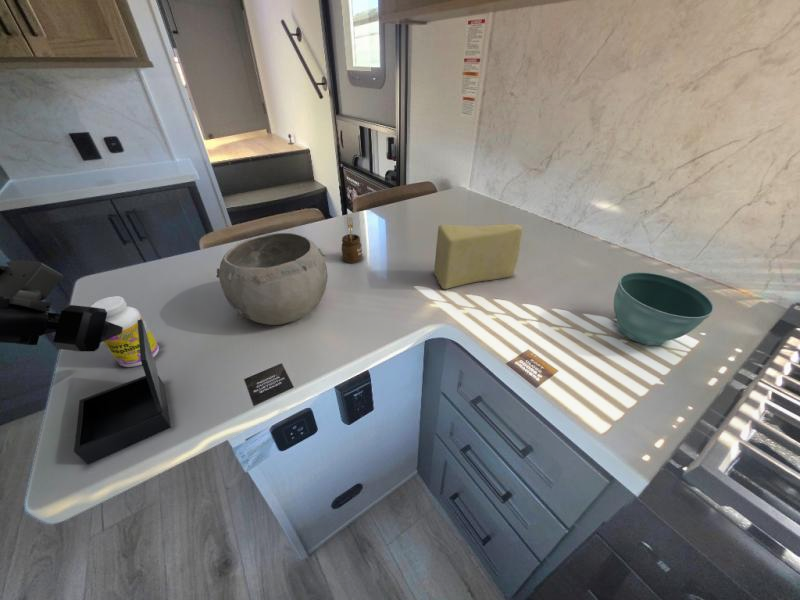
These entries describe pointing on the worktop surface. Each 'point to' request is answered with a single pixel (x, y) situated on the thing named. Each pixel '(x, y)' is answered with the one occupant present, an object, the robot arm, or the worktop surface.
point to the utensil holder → (351, 246)
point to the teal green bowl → (658, 307)
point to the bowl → (274, 278)
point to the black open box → (118, 419)
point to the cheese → (476, 253)
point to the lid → (149, 366)
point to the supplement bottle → (125, 331)
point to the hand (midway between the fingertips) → (96, 327)
